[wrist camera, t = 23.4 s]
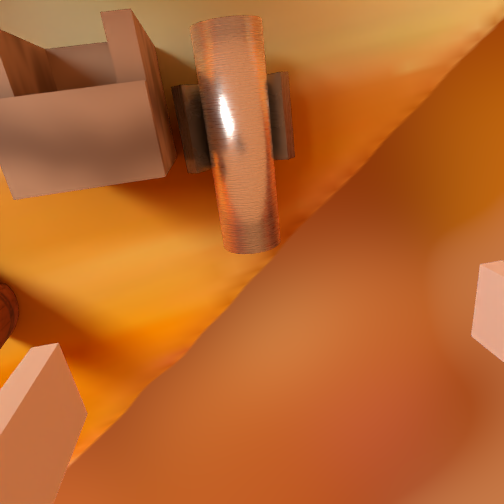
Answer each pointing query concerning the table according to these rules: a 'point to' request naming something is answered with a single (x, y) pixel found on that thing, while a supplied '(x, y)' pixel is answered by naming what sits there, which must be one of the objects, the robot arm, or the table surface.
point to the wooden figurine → (7, 313)
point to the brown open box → (83, 112)
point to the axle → (238, 129)
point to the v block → (195, 130)
